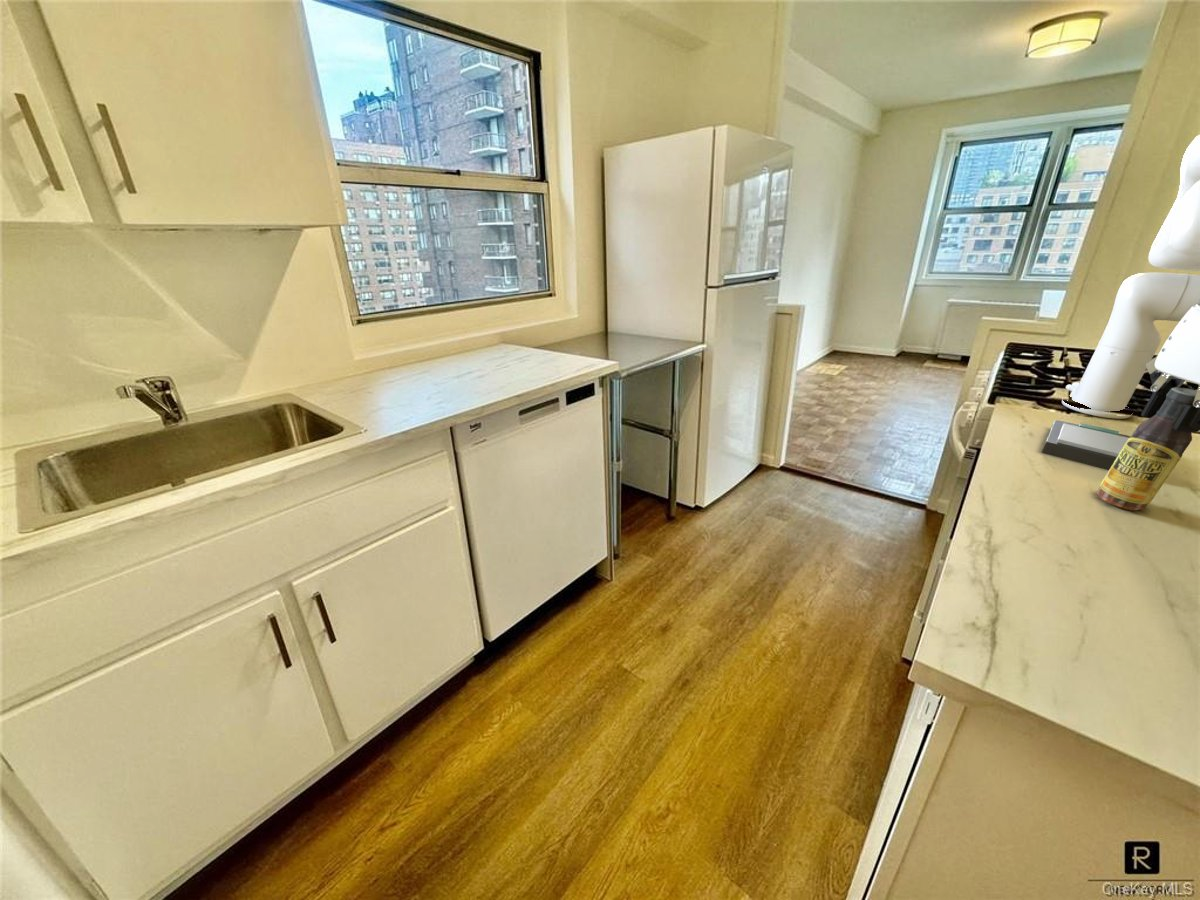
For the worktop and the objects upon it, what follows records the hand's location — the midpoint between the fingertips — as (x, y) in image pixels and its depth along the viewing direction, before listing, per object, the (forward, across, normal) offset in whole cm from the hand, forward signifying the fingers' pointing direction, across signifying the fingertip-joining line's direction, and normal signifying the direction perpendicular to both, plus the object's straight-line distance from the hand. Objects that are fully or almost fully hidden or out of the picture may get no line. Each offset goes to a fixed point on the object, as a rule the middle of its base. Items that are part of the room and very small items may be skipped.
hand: (1168, 422), depth 74 cm
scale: (+15, +20, -11) cm, 27 cm away
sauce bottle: (+15, 0, 0) cm, 15 cm away
